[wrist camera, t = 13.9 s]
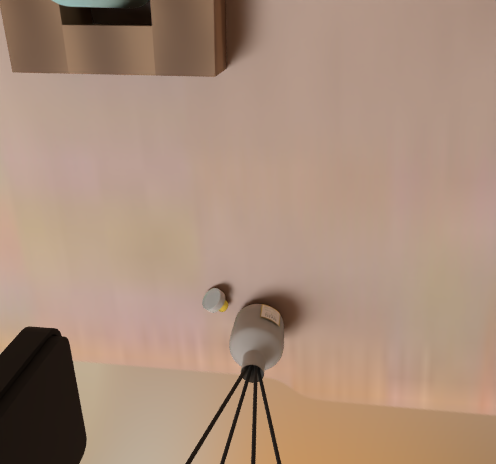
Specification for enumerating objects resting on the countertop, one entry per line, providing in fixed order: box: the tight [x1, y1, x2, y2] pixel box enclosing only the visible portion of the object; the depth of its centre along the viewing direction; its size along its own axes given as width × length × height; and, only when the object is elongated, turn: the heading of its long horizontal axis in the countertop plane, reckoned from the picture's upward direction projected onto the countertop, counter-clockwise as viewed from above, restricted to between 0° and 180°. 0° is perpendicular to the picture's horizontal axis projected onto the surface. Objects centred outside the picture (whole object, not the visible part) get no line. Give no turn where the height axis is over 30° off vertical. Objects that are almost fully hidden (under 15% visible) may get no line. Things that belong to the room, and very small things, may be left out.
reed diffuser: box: [186, 288, 284, 464], centre depth 36 cm, size 10×7×20 cm
